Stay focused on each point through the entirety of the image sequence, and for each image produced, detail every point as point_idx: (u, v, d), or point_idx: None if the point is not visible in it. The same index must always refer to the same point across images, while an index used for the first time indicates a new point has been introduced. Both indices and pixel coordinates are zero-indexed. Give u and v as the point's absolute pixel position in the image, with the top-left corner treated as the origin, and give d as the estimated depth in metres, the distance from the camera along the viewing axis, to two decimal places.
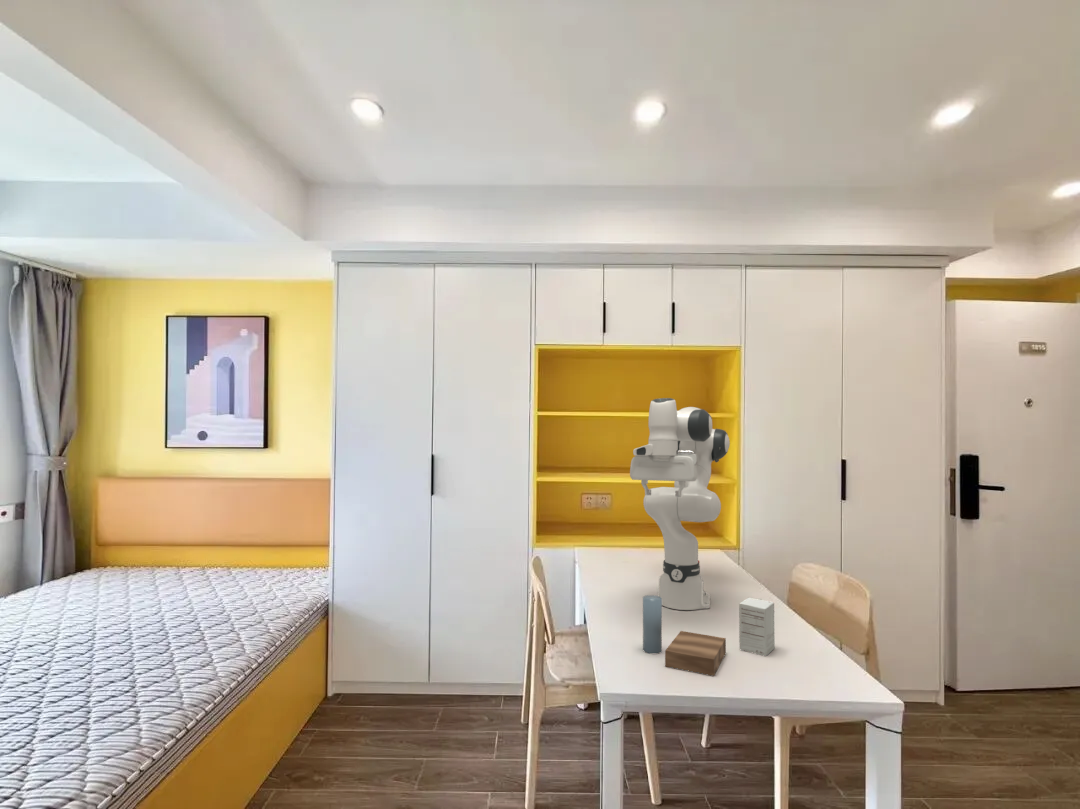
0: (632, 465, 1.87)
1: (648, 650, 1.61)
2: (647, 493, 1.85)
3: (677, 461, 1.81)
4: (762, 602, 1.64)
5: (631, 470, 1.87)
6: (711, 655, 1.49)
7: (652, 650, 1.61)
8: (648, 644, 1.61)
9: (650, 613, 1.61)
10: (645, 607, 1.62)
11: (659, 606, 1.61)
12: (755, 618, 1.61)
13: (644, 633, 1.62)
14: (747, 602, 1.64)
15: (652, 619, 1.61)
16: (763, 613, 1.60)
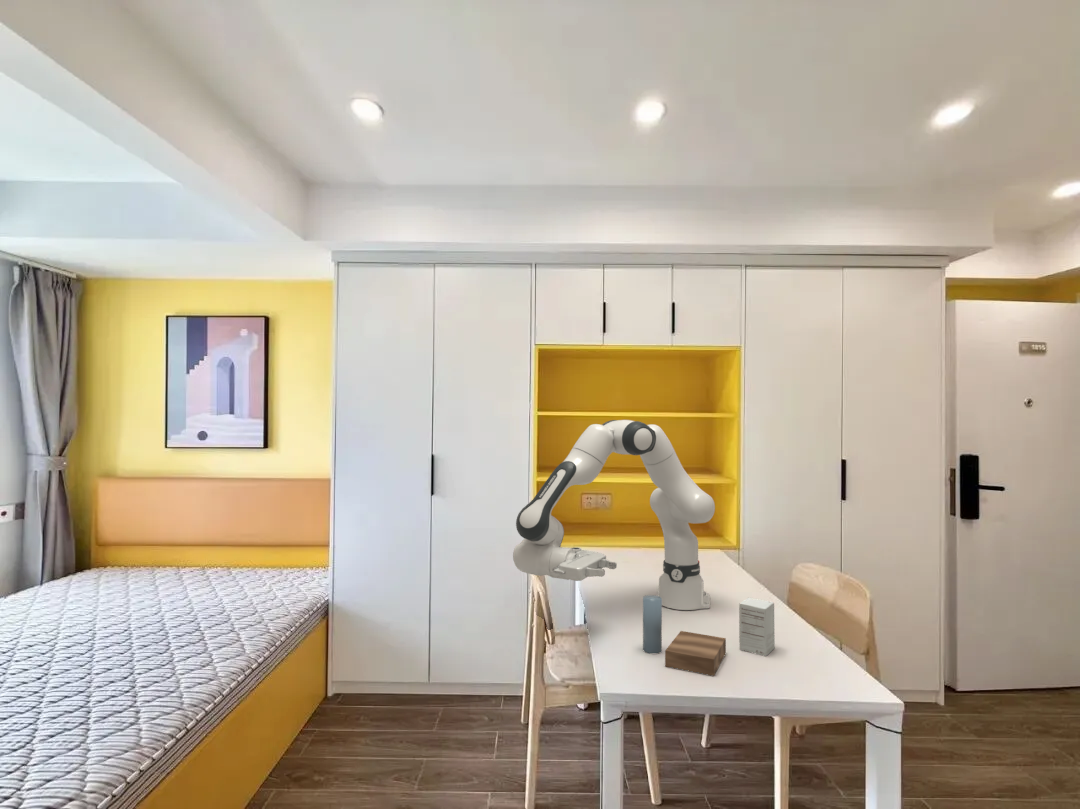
0: None
1: (648, 650, 1.61)
2: None
3: None
4: (762, 602, 1.64)
5: None
6: (711, 655, 1.49)
7: (652, 650, 1.61)
8: (648, 644, 1.61)
9: (650, 613, 1.61)
10: (645, 607, 1.62)
11: (659, 606, 1.61)
12: (755, 618, 1.61)
13: (644, 633, 1.62)
14: (747, 602, 1.64)
15: (652, 619, 1.61)
16: (763, 613, 1.60)
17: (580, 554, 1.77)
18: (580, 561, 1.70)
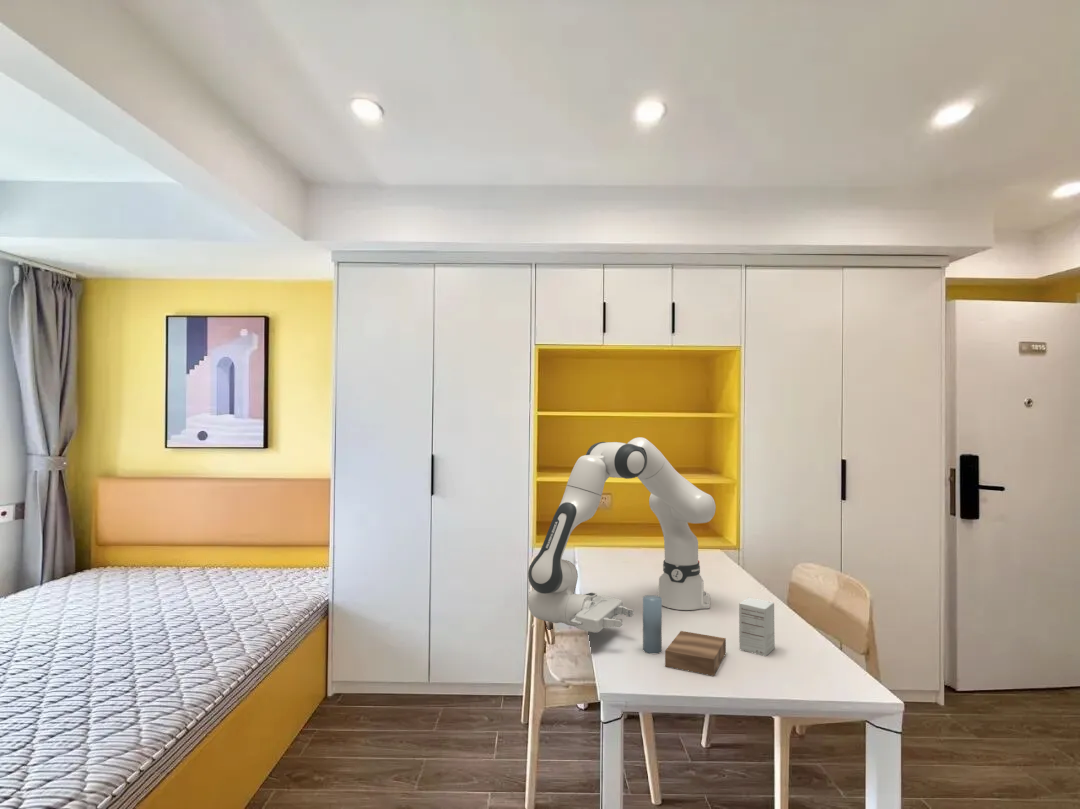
0: None
1: (648, 650, 1.61)
2: None
3: None
4: (762, 602, 1.64)
5: None
6: (711, 655, 1.49)
7: (652, 651, 1.61)
8: (648, 644, 1.61)
9: (650, 613, 1.61)
10: (645, 607, 1.62)
11: (659, 606, 1.61)
12: (755, 618, 1.61)
13: (644, 633, 1.62)
14: (747, 602, 1.64)
15: (652, 619, 1.61)
16: (763, 613, 1.60)
17: (596, 601, 1.75)
18: (597, 610, 1.68)
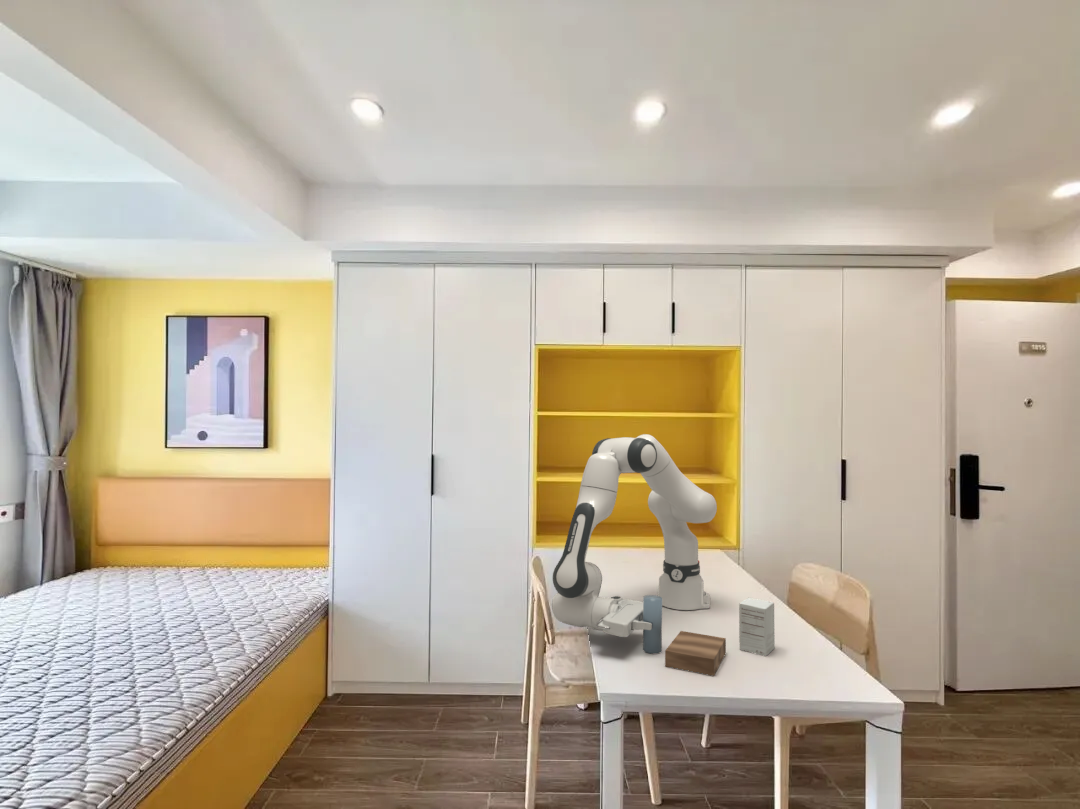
0: None
1: (648, 650, 1.61)
2: None
3: None
4: (762, 602, 1.64)
5: None
6: (711, 655, 1.49)
7: (652, 650, 1.61)
8: (648, 644, 1.61)
9: (651, 613, 1.61)
10: (645, 607, 1.62)
11: (659, 606, 1.61)
12: (755, 618, 1.61)
13: (644, 633, 1.62)
14: (747, 602, 1.64)
15: (652, 619, 1.61)
16: (763, 613, 1.60)
17: (622, 604, 1.71)
18: (624, 614, 1.64)
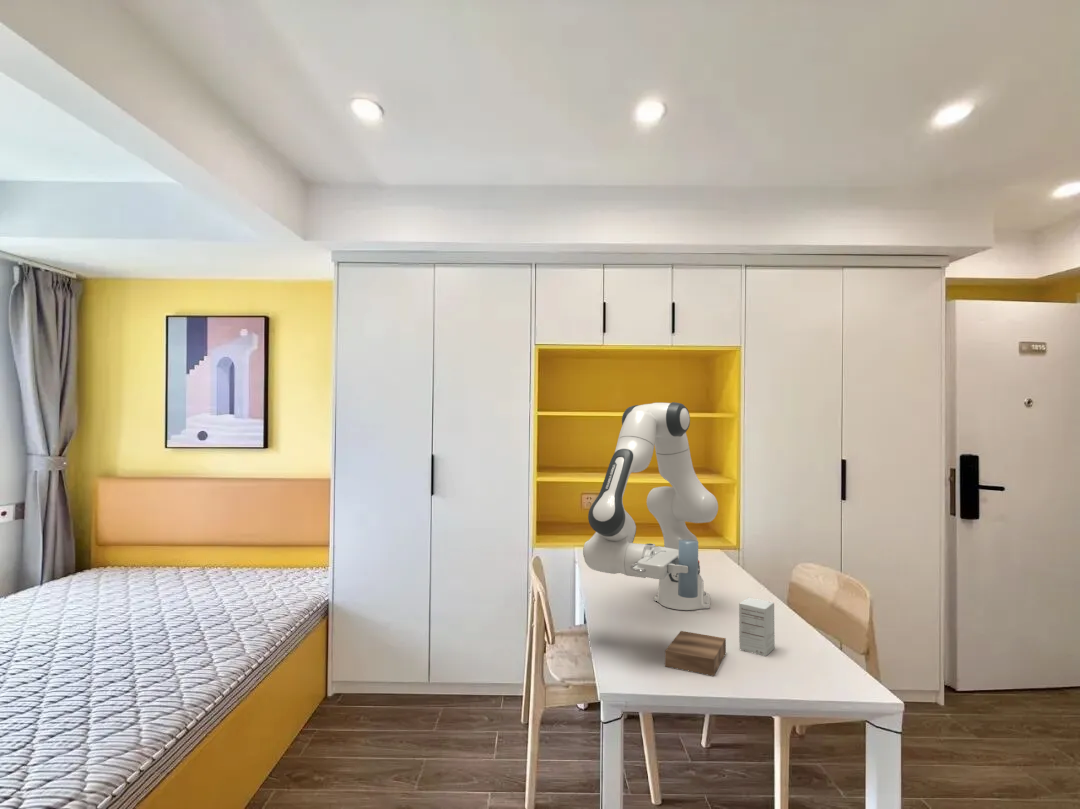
0: None
1: (684, 594, 1.56)
2: None
3: None
4: (762, 602, 1.64)
5: None
6: (711, 655, 1.49)
7: (688, 594, 1.56)
8: (684, 588, 1.56)
9: (687, 556, 1.56)
10: (681, 550, 1.57)
11: (696, 549, 1.56)
12: (755, 618, 1.61)
13: (680, 577, 1.57)
14: (747, 602, 1.64)
15: (688, 563, 1.56)
16: (763, 613, 1.60)
17: (655, 550, 1.66)
18: (659, 558, 1.59)
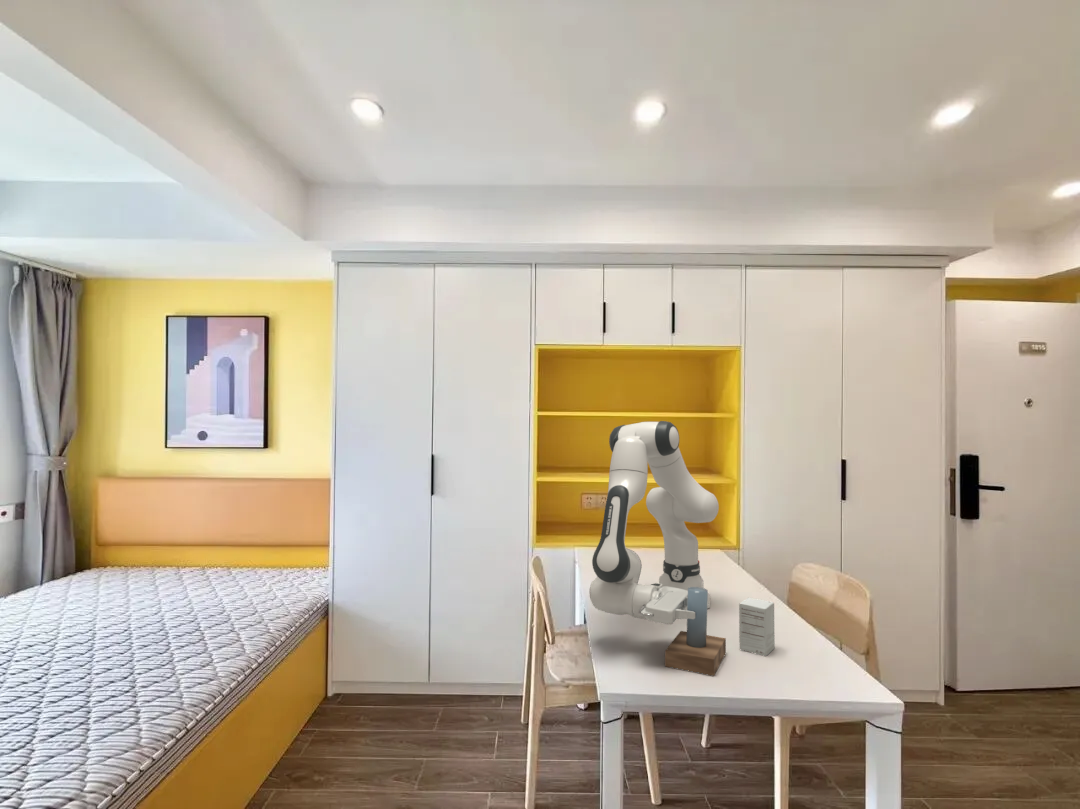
0: None
1: (693, 644, 1.55)
2: None
3: None
4: (762, 602, 1.64)
5: None
6: (711, 655, 1.49)
7: (697, 644, 1.54)
8: (693, 637, 1.55)
9: (696, 605, 1.54)
10: (690, 599, 1.55)
11: (705, 598, 1.55)
12: (755, 618, 1.61)
13: (688, 626, 1.56)
14: (747, 602, 1.64)
15: (698, 612, 1.54)
16: (763, 613, 1.60)
17: (663, 591, 1.65)
18: (666, 601, 1.58)
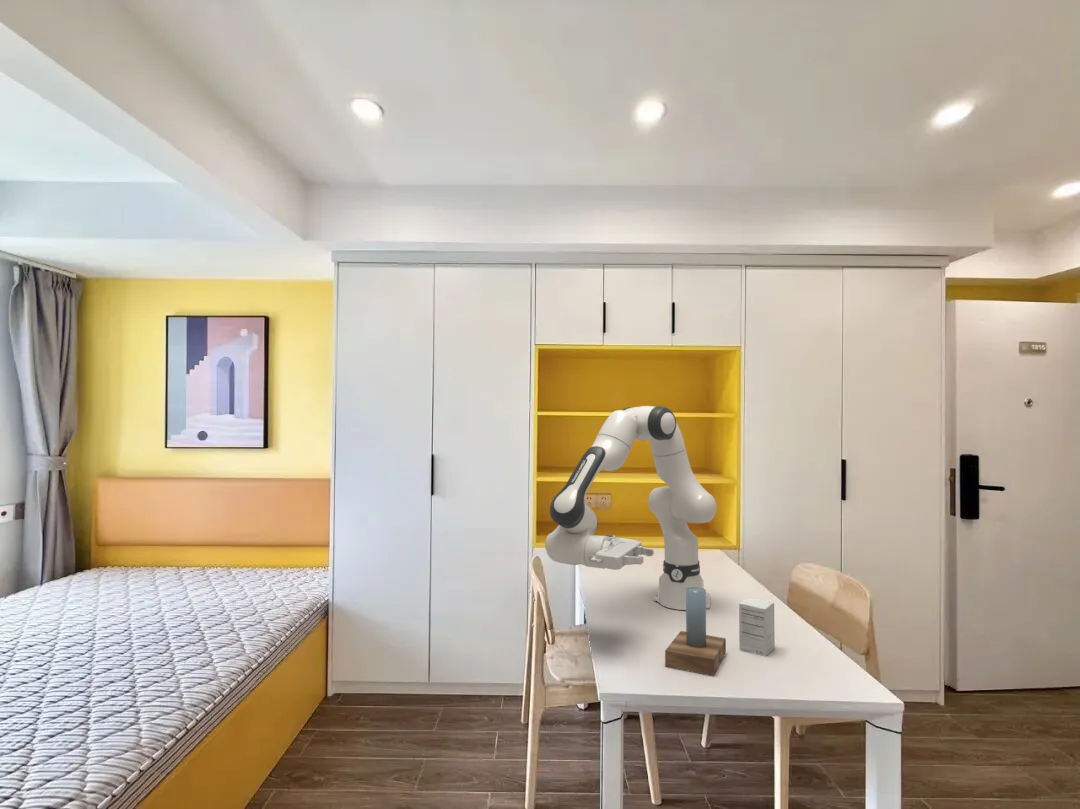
0: None
1: (692, 644, 1.55)
2: None
3: None
4: (762, 602, 1.64)
5: None
6: (711, 655, 1.49)
7: (696, 644, 1.54)
8: (692, 637, 1.55)
9: (694, 605, 1.55)
10: (689, 599, 1.56)
11: (703, 598, 1.55)
12: (755, 618, 1.61)
13: (688, 626, 1.56)
14: (747, 602, 1.64)
15: (696, 612, 1.55)
16: (763, 613, 1.60)
17: (615, 542, 1.72)
18: (616, 549, 1.65)
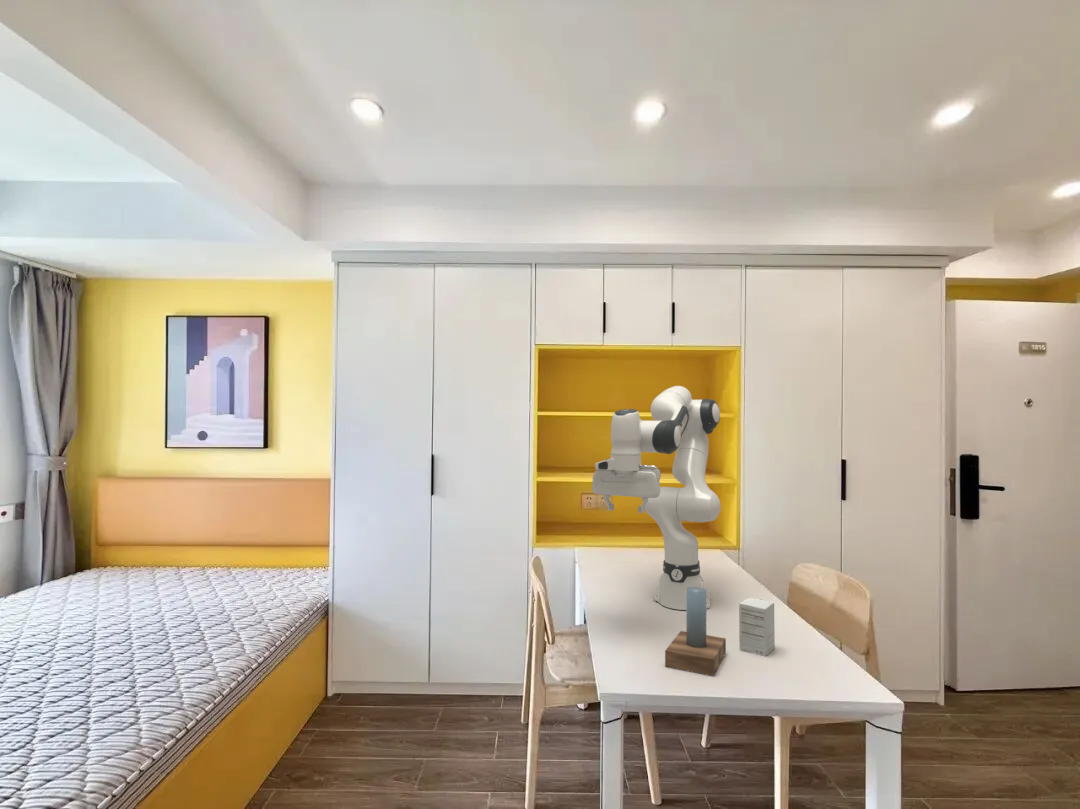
0: (594, 479, 1.80)
1: (692, 643, 1.55)
2: (609, 508, 1.79)
3: (640, 477, 1.74)
4: (762, 602, 1.64)
5: (593, 484, 1.80)
6: (711, 655, 1.49)
7: (696, 644, 1.54)
8: (692, 637, 1.55)
9: (695, 605, 1.55)
10: (689, 599, 1.56)
11: (704, 598, 1.55)
12: (755, 618, 1.61)
13: (688, 626, 1.56)
14: (747, 602, 1.64)
15: (697, 612, 1.55)
16: (763, 613, 1.60)
17: None
18: None
